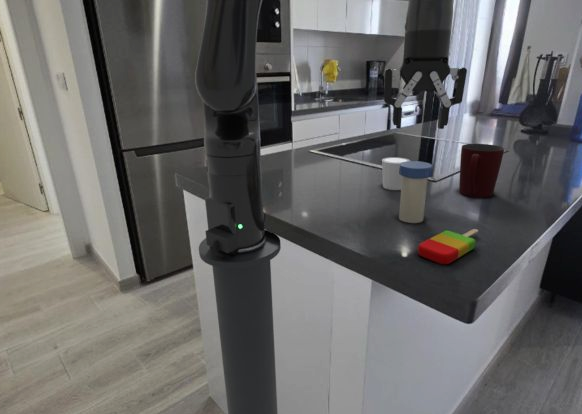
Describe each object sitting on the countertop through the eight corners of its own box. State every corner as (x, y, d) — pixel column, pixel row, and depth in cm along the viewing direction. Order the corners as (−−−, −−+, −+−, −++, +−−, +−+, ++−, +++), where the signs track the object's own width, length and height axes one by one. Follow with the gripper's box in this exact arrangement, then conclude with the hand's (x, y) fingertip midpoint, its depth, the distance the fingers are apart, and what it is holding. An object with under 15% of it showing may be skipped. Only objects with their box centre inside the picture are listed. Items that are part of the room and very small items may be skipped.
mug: (488, 205, 83) (497, 155, 79) (447, 198, 88) (453, 150, 84) (499, 191, 92) (507, 146, 88) (461, 185, 97) (467, 142, 93)
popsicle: (414, 254, 62) (415, 244, 61) (461, 230, 71) (462, 220, 70) (445, 267, 58) (447, 256, 57) (491, 239, 67) (492, 229, 66)
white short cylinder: (393, 192, 92) (396, 164, 90) (374, 185, 98) (376, 159, 95) (413, 187, 96) (416, 160, 93) (394, 181, 101) (396, 155, 99)
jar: (418, 225, 73) (423, 171, 70) (394, 219, 76) (398, 168, 72) (427, 217, 77) (432, 166, 73) (404, 212, 80) (408, 163, 76)
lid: (424, 180, 69) (425, 170, 69) (393, 175, 73) (394, 165, 72) (436, 173, 74) (437, 163, 73) (406, 168, 77) (407, 159, 76)
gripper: (386, 28, 62) (380, 131, 68) (479, 26, 60) (465, 131, 66) (383, 32, 69) (378, 125, 75) (466, 30, 67) (455, 125, 73)
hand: (419, 127), depth 70 cm, fingers open, 7 cm apart
